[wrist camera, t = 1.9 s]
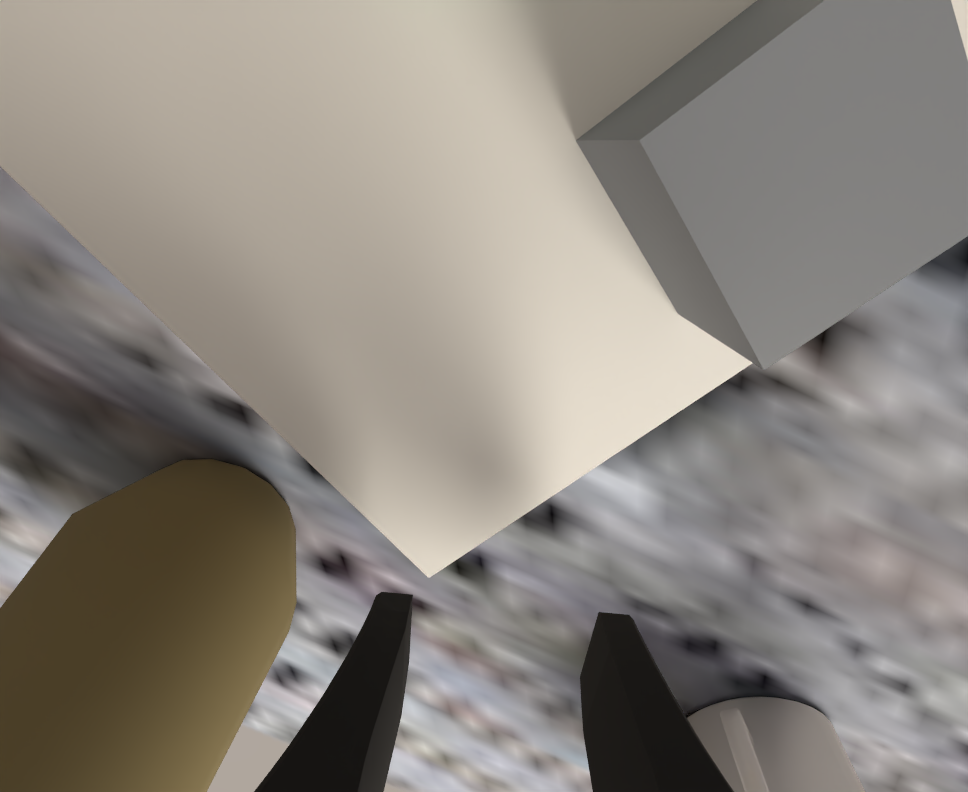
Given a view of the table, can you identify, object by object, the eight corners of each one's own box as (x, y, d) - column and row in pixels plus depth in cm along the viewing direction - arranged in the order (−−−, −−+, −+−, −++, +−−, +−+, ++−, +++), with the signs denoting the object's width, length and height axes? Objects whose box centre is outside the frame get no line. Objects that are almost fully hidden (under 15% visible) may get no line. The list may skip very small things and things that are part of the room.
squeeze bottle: (271, 409, 20) (-511, 1556, 5) (355, 571, 24) (79, 1504, 8) (73, 454, 22) (-1068, 1480, 6) (182, 602, 25) (-336, 1464, 10)
